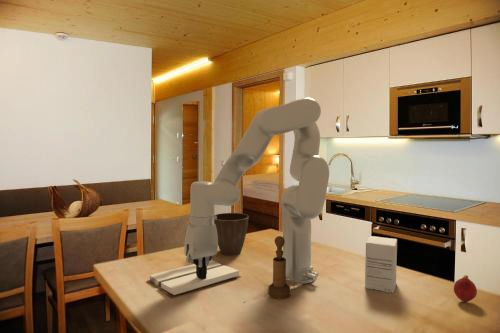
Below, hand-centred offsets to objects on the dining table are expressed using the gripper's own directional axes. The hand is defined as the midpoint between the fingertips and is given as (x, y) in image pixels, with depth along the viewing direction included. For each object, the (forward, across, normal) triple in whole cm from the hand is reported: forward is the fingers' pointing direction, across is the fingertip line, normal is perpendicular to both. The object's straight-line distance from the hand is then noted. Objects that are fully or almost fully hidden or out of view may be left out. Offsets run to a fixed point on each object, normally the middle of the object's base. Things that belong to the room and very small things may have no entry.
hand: (201, 277), depth 114 cm
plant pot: (+3, -27, -21) cm, 34 cm away
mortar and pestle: (+3, -16, +19) cm, 25 cm away
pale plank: (+2, -1, -1) cm, 2 cm away
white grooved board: (+3, -1, -5) cm, 6 cm away
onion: (+2, -53, +58) cm, 78 cm away
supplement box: (+2, -46, +36) cm, 58 cm away
